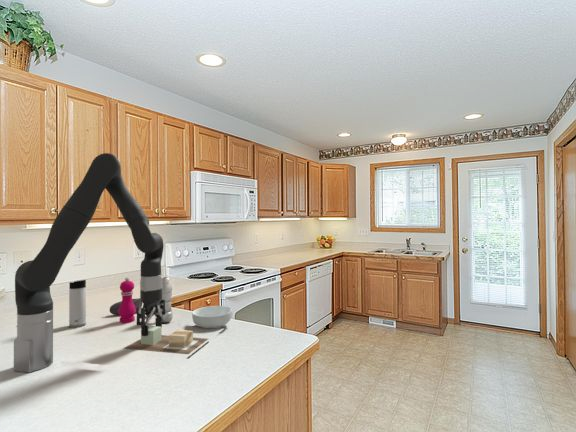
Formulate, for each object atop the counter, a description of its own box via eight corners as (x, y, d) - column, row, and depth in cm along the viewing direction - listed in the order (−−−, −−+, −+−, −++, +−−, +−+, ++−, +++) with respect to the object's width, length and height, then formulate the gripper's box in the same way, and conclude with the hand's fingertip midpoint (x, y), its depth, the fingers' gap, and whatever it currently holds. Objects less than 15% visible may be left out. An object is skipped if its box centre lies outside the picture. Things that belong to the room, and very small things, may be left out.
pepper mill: (114, 322, 155) (114, 278, 155) (128, 318, 161) (128, 275, 161) (125, 324, 151) (125, 279, 152) (139, 320, 158) (139, 276, 158)
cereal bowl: (190, 323, 152) (190, 307, 152) (227, 319, 158) (227, 304, 158) (194, 335, 136) (194, 317, 136) (235, 330, 142) (235, 313, 142)
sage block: (153, 345, 122) (153, 330, 122) (140, 344, 123) (140, 330, 123) (161, 340, 127) (161, 326, 127) (149, 339, 128) (149, 325, 128)
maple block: (184, 347, 118) (184, 336, 119) (168, 346, 120) (168, 335, 120) (192, 341, 124) (192, 330, 124) (178, 340, 126) (178, 329, 126)
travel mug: (78, 328, 146) (78, 281, 147) (65, 327, 148) (65, 281, 148) (90, 323, 153) (89, 279, 153) (77, 323, 154) (77, 278, 154)
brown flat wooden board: (188, 358, 113) (188, 353, 113) (122, 352, 119) (122, 348, 119) (208, 342, 128) (208, 338, 128) (149, 338, 133) (149, 334, 133)
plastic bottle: (167, 319, 159) (167, 276, 159) (175, 321, 154) (175, 277, 155) (154, 322, 154) (154, 278, 154) (162, 325, 150) (162, 279, 150)
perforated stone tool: (109, 317, 163) (109, 302, 163) (109, 314, 168) (109, 300, 168) (143, 313, 170) (143, 299, 170) (142, 310, 175) (142, 297, 175)
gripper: (153, 283, 133) (154, 325, 133) (129, 291, 119) (130, 338, 119) (171, 284, 132) (171, 326, 132) (148, 292, 118) (149, 339, 118)
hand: (152, 331), depth 126 cm, fingers open, 8 cm apart
